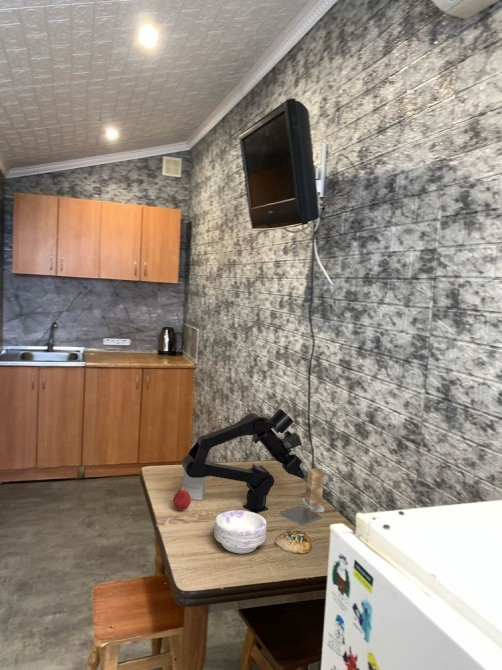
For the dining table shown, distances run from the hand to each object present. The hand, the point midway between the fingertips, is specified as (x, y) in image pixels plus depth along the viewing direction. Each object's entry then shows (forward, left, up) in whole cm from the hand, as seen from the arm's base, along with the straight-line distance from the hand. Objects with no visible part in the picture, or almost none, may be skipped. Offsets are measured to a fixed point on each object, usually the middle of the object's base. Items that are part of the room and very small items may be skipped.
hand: (298, 472), depth 177 cm
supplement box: (-25, +27, -13) cm, 39 cm away
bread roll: (-21, -18, -13) cm, 31 cm away
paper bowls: (-35, -9, -13) cm, 39 cm away
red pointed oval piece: (-36, +19, -13) cm, 43 cm away
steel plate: (-4, -6, -12) cm, 15 cm away
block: (+6, -3, -12) cm, 14 cm away
